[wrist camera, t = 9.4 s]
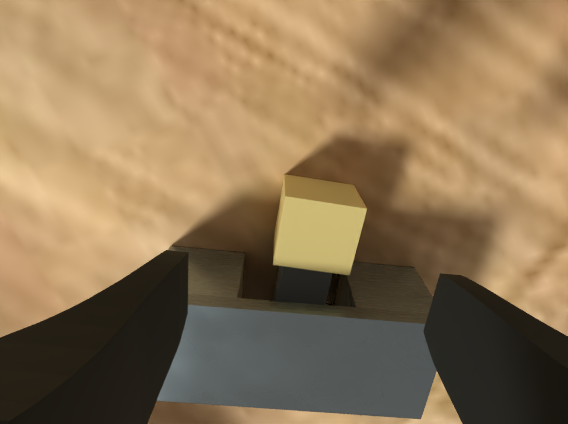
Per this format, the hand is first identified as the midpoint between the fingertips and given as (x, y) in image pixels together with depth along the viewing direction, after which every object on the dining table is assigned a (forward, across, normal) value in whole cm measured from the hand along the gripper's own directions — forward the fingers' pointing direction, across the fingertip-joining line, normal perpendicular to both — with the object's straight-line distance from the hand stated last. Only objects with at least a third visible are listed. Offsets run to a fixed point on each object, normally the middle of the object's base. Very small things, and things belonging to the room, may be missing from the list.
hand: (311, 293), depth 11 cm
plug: (+7, 0, +5) cm, 9 cm away
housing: (+7, 0, +5) cm, 9 cm away
